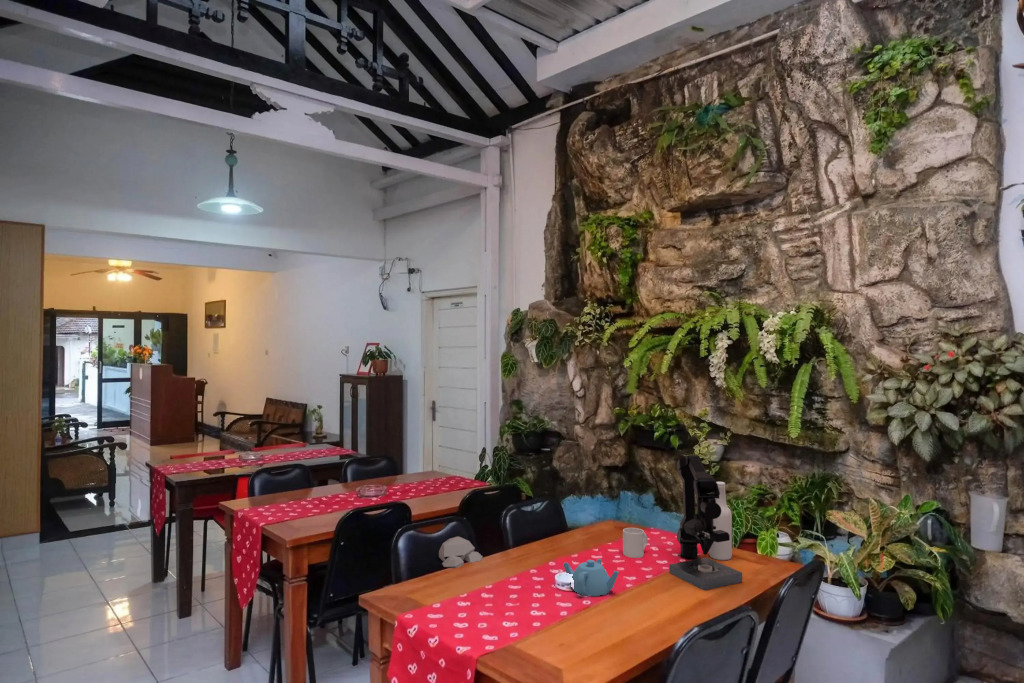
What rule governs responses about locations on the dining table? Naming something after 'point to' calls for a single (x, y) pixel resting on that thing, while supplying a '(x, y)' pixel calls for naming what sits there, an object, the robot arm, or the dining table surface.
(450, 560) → the rock
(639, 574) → the dining table surface
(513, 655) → the dining table surface
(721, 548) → the alcohol
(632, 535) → the mug
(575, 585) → the teapot
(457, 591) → the dining table surface
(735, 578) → the dark grey square base
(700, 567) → the cap
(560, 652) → the dining table surface
